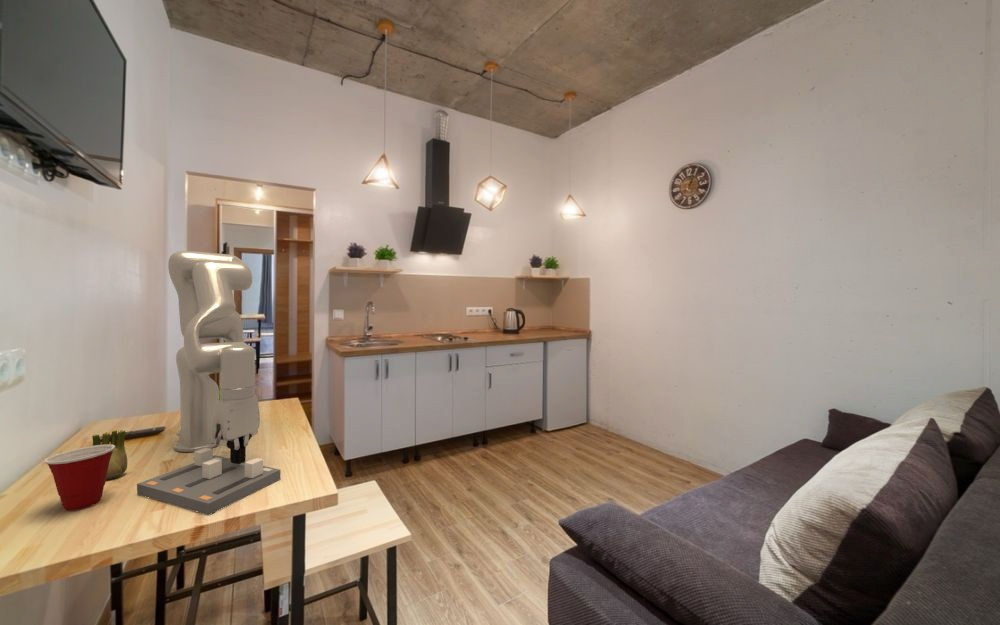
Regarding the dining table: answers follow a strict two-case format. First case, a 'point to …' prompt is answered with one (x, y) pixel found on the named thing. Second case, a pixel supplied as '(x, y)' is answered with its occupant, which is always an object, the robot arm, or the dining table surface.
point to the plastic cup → (80, 475)
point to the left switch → (203, 456)
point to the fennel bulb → (114, 452)
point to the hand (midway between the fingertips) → (238, 462)
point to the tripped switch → (211, 468)
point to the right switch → (253, 468)
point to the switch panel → (206, 486)
